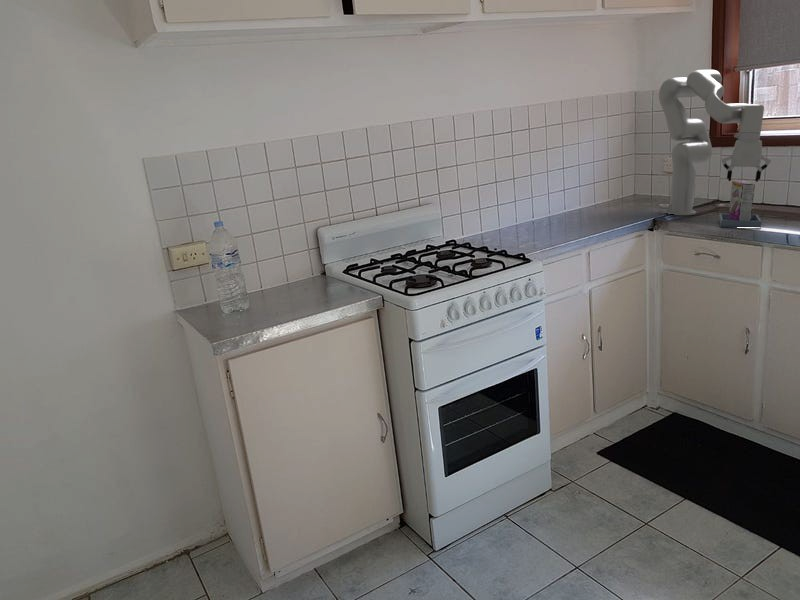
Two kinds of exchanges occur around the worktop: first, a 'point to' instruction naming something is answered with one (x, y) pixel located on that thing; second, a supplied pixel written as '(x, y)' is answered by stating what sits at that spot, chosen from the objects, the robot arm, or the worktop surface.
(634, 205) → the worktop surface
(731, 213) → the candy bar box
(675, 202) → the robot arm
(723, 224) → the tray
